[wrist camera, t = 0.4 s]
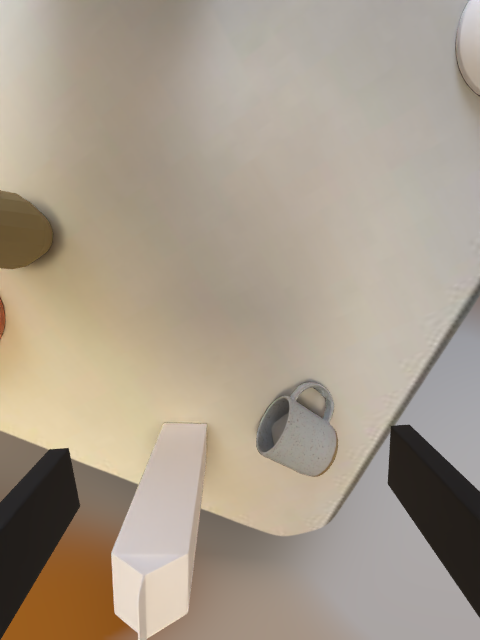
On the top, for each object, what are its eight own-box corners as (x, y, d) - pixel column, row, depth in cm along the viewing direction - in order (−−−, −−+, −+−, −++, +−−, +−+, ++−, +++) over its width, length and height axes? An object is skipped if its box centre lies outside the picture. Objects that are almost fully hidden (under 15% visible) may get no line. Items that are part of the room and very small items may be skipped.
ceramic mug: (301, 456, 43) (317, 497, 36) (252, 430, 42) (258, 466, 35) (343, 395, 42) (369, 425, 34) (294, 367, 41) (309, 391, 33)
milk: (207, 422, 42) (184, 596, 20) (206, 461, 43) (184, 665, 22) (162, 422, 42) (92, 597, 20) (162, 461, 43) (97, 666, 21)
